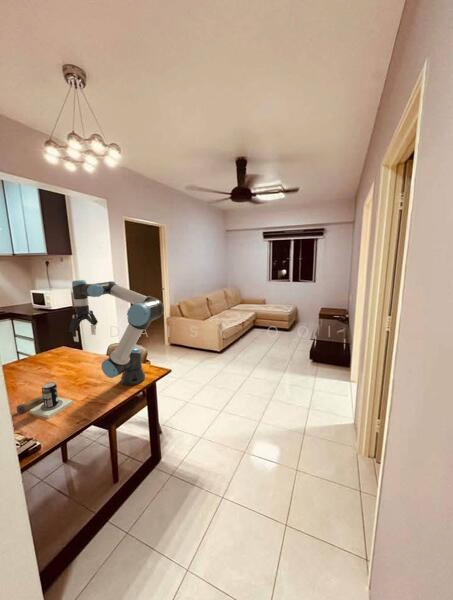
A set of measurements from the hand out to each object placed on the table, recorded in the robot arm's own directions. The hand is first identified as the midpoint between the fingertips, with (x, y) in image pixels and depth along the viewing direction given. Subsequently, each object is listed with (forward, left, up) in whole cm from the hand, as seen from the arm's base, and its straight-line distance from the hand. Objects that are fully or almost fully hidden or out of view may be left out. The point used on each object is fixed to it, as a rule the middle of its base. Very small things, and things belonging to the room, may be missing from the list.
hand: (85, 337), depth 158 cm
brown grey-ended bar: (+8, +30, -31) cm, 44 cm away
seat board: (-2, +28, -31) cm, 42 cm away
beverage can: (-2, +28, -29) cm, 40 cm away
